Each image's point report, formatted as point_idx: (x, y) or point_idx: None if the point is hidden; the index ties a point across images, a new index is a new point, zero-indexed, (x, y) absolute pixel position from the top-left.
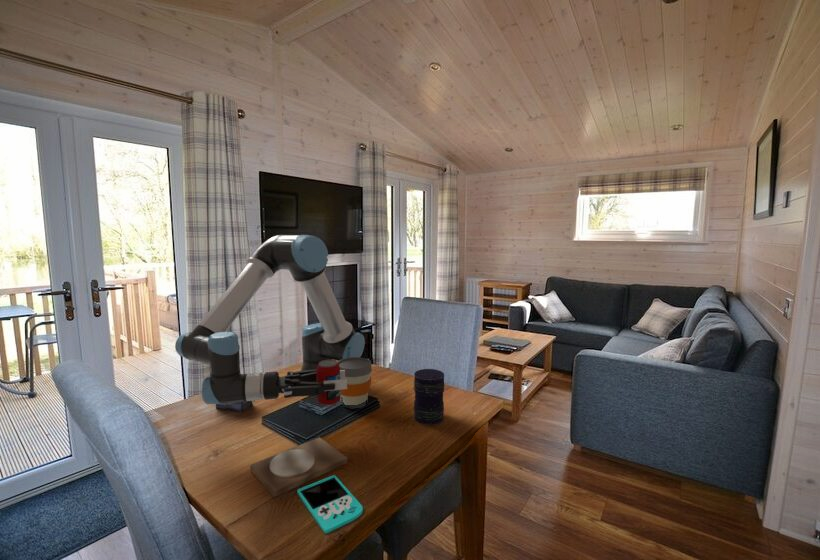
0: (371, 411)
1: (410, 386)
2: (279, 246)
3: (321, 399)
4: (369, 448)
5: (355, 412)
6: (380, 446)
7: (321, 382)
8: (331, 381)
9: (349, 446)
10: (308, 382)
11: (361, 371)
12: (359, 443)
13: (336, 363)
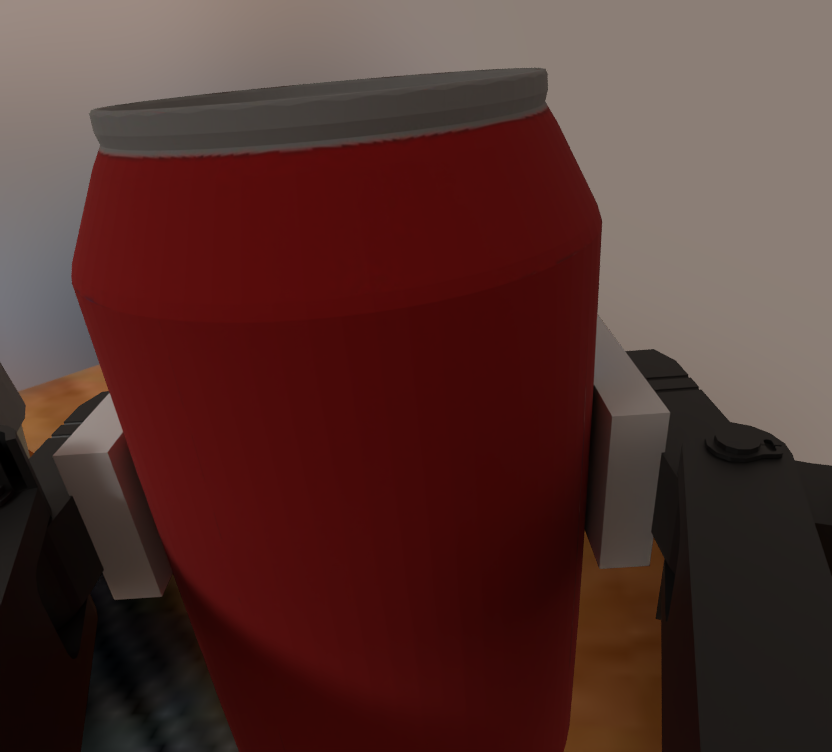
0: (171, 594)
1: (25, 432)
2: None
3: (548, 744)
4: (638, 622)
5: (118, 691)
6: (609, 569)
7: (573, 487)
8: (619, 345)
9: (625, 746)
10: (758, 739)
11: (1, 386)
12: (579, 676)
13: (420, 75)
